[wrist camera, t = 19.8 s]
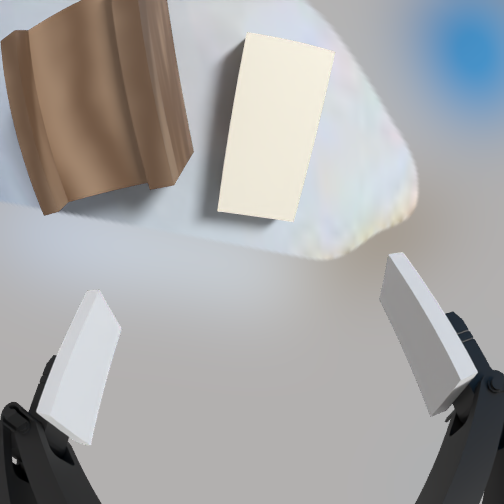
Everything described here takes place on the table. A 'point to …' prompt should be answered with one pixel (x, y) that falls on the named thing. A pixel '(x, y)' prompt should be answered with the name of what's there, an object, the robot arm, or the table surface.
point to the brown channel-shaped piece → (97, 100)
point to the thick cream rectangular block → (273, 126)
